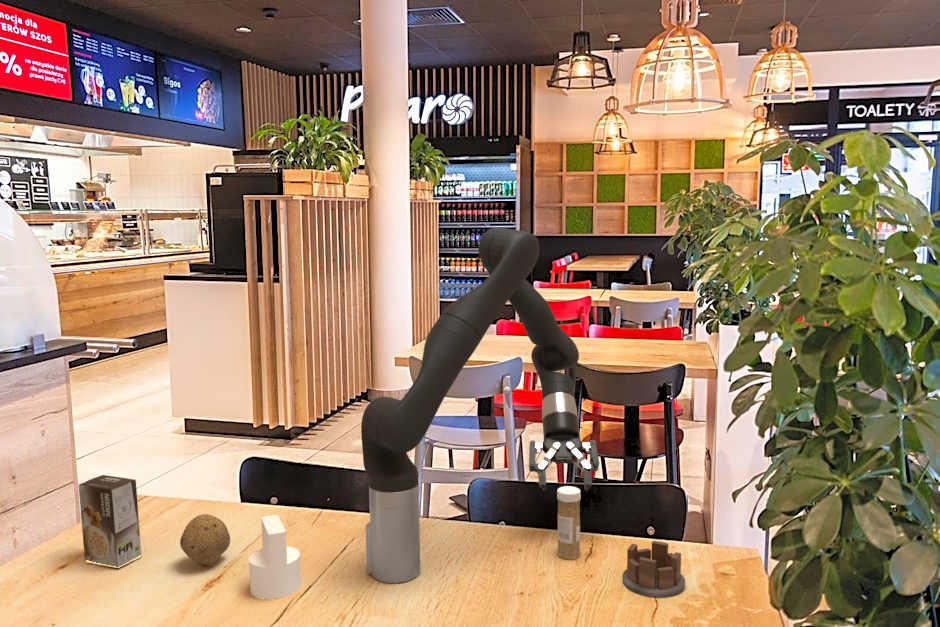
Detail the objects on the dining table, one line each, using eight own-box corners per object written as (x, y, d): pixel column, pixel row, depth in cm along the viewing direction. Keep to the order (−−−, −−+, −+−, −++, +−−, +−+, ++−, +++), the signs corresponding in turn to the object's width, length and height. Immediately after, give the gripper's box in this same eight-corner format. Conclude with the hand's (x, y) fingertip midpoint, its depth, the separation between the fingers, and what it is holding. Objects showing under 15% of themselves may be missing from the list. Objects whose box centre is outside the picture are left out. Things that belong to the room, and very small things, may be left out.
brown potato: (171, 571, 148) (167, 521, 147) (199, 552, 157) (196, 504, 155) (212, 577, 146) (210, 526, 145) (239, 557, 154) (236, 508, 153)
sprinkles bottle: (585, 556, 153) (585, 490, 151) (567, 562, 150) (567, 494, 148) (569, 548, 156) (570, 483, 155) (552, 553, 154) (552, 488, 152)
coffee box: (143, 557, 155) (138, 479, 153) (118, 570, 149) (112, 489, 147) (108, 550, 158) (103, 473, 156) (82, 563, 153) (76, 483, 151)
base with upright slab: (247, 582, 144) (244, 519, 142) (296, 573, 147) (293, 511, 146) (254, 603, 135) (250, 537, 134) (305, 593, 139) (303, 529, 137)
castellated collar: (614, 589, 139) (614, 556, 138) (633, 564, 148) (633, 534, 148) (676, 602, 134) (677, 569, 133) (691, 576, 143) (692, 545, 142)
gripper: (527, 410, 164) (531, 481, 154) (595, 409, 163) (603, 480, 153) (526, 428, 170) (529, 497, 159) (591, 427, 169) (599, 496, 159)
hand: (565, 488), depth 156 cm, fingers open, 8 cm apart
